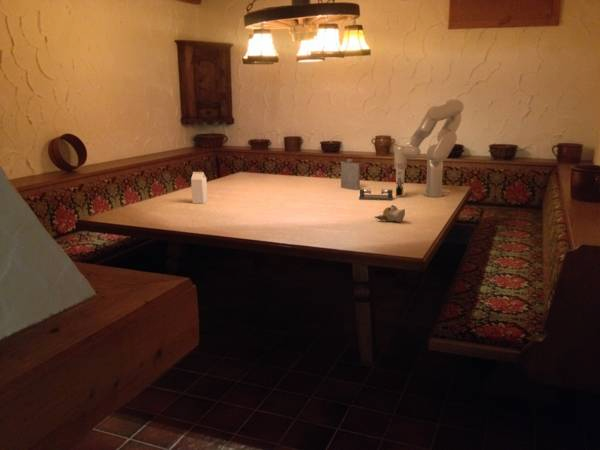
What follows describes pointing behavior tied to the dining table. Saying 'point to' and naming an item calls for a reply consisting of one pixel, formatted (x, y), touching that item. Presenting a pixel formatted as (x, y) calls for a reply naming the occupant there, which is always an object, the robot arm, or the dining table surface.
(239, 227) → the dining table surface
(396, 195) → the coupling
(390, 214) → the ceramic sculpture
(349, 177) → the hip flask
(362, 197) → the shaft rig
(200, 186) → the milk carton
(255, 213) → the dining table surface
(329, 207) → the dining table surface
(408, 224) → the dining table surface
